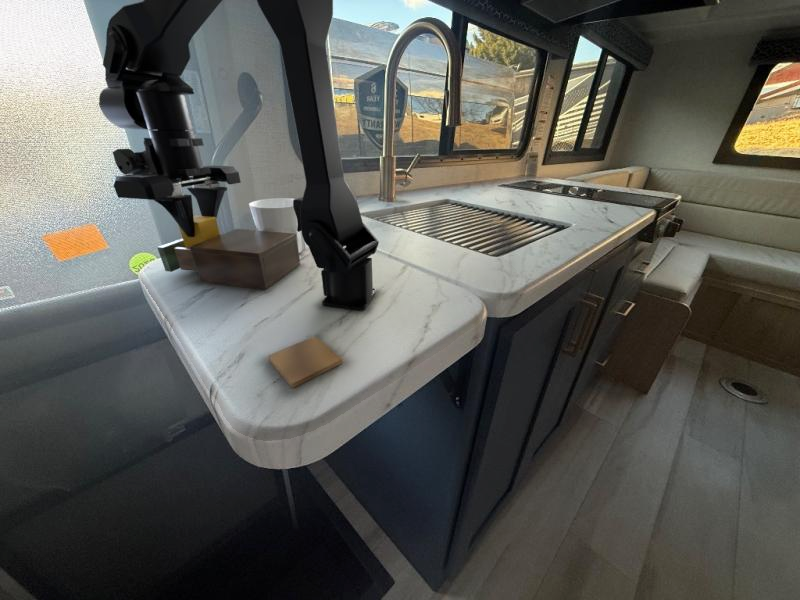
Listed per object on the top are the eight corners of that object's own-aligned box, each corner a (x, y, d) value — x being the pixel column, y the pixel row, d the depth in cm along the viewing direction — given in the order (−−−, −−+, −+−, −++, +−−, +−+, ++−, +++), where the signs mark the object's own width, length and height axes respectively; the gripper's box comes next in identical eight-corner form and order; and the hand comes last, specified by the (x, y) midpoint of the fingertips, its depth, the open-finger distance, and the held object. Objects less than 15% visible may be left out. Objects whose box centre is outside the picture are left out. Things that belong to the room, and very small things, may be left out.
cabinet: (200, 282, 52) (189, 246, 49) (244, 259, 61) (237, 228, 58) (266, 290, 49) (258, 253, 47) (300, 265, 59) (296, 233, 56)
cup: (273, 242, 71) (265, 197, 66) (316, 245, 70) (310, 199, 65) (249, 257, 62) (238, 206, 58) (296, 260, 61) (289, 209, 56)
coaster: (316, 340, 38) (315, 335, 37) (342, 363, 34) (342, 358, 34) (268, 360, 34) (267, 355, 34) (292, 388, 30) (291, 383, 30)
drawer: (159, 270, 53) (150, 246, 51) (203, 252, 62) (197, 230, 60) (221, 278, 51) (214, 253, 49) (258, 257, 60) (254, 235, 58)
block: (225, 255, 57) (215, 216, 54) (209, 262, 54) (197, 222, 51) (206, 253, 58) (195, 215, 55) (189, 260, 55) (176, 220, 51)
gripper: (178, 130, 56) (202, 217, 64) (57, 128, 40) (108, 245, 47) (232, 131, 54) (250, 221, 61) (127, 129, 38) (169, 252, 45)
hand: (201, 233), depth 54 cm, fingers closed on block, 4 cm apart
